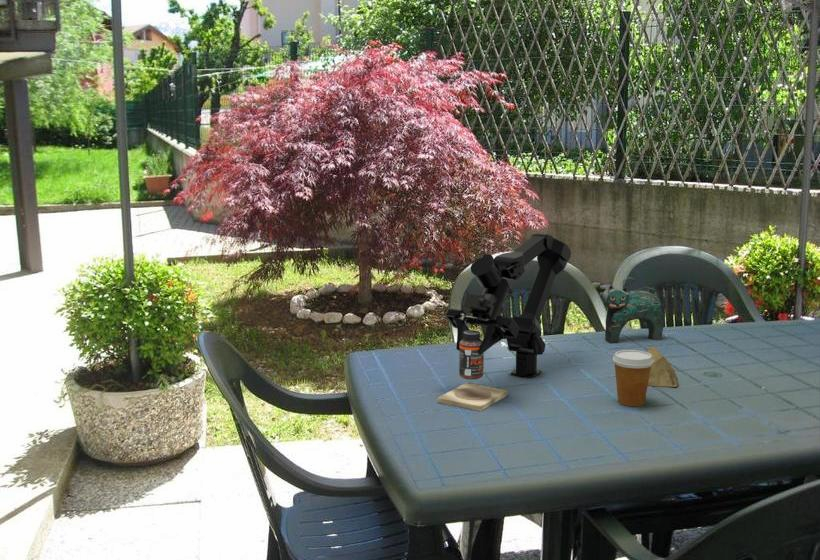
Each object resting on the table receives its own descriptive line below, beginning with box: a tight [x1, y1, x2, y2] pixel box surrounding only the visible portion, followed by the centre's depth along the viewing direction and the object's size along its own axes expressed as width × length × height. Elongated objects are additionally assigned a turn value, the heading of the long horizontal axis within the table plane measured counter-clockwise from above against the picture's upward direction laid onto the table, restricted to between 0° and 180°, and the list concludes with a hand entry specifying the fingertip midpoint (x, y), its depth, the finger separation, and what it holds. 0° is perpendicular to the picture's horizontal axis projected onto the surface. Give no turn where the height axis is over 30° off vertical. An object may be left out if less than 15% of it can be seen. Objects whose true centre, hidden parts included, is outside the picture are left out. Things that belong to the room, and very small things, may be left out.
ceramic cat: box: [602, 277, 666, 344], centre depth 267 cm, size 20×6×20 cm, turn 102°
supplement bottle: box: [458, 329, 485, 381], centre depth 212 cm, size 6×6×11 cm
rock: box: [646, 346, 679, 388], centre depth 224 cm, size 10×8×10 cm
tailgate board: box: [436, 382, 509, 412], centre depth 215 cm, size 15×12×1 cm
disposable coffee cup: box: [612, 349, 653, 407], centre depth 210 cm, size 10×10×12 cm
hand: (468, 351), depth 211 cm, fingers closed on supplement bottle, 6 cm apart
